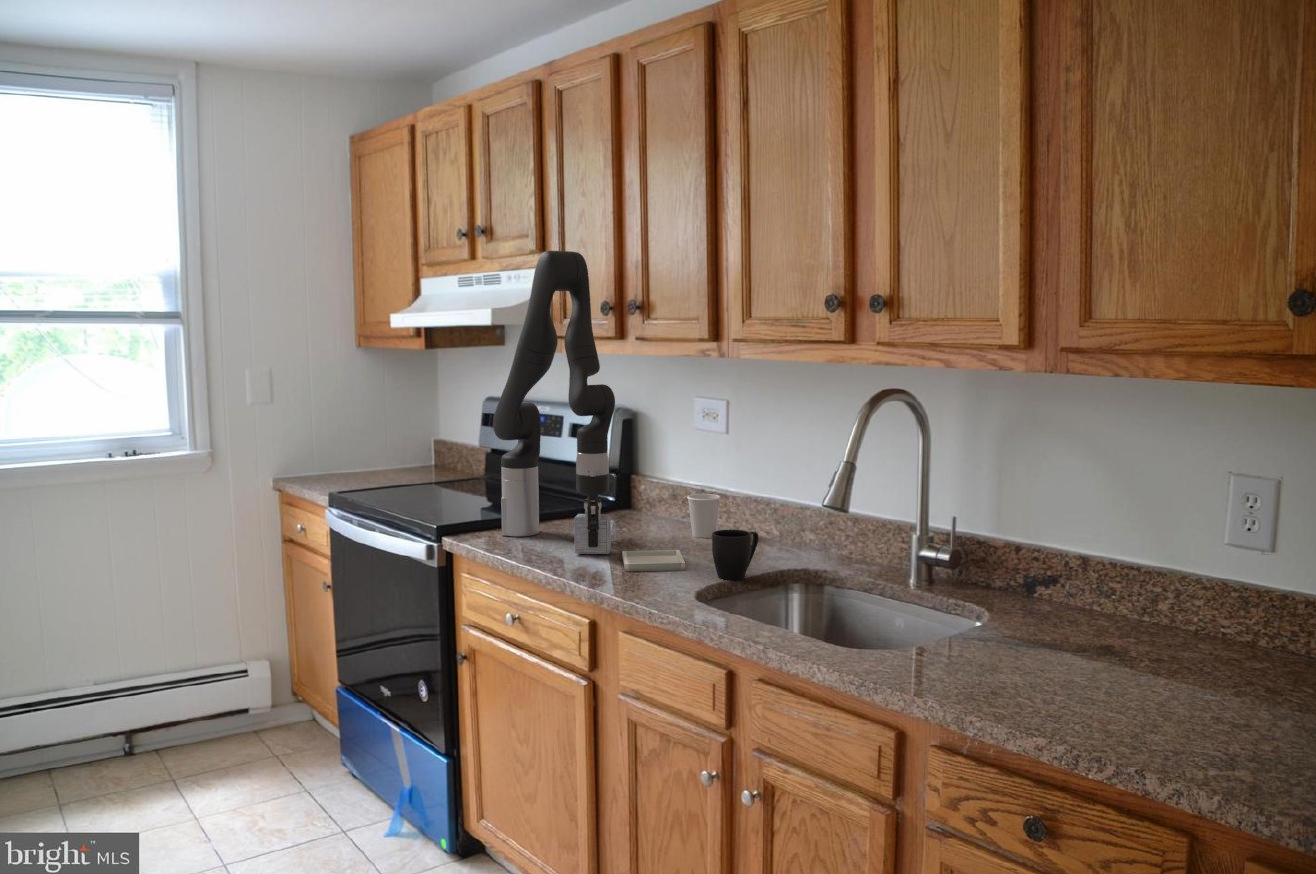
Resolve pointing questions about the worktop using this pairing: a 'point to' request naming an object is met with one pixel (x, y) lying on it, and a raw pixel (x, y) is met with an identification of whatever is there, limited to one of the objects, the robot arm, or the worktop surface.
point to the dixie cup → (703, 514)
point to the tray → (653, 560)
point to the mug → (733, 552)
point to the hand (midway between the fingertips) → (592, 544)
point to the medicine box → (582, 535)
